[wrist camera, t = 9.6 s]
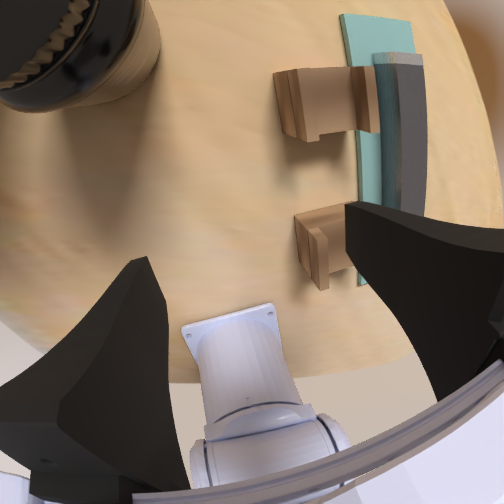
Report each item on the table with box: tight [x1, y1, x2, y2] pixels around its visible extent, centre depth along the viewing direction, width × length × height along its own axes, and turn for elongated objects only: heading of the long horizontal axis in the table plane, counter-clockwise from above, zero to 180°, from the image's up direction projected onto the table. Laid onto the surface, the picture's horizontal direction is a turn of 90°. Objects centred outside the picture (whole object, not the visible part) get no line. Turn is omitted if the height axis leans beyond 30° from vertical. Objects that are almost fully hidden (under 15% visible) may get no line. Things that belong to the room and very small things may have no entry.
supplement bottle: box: [0, 0, 161, 113], centre depth 8 cm, size 7×7×12 cm
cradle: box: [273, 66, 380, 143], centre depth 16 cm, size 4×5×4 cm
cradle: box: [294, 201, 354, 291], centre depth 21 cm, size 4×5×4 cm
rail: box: [372, 52, 427, 217], centre depth 19 cm, size 16×2×2 cm, turn 10°
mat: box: [339, 14, 415, 285], centre depth 20 cm, size 22×6×1 cm, turn 10°
